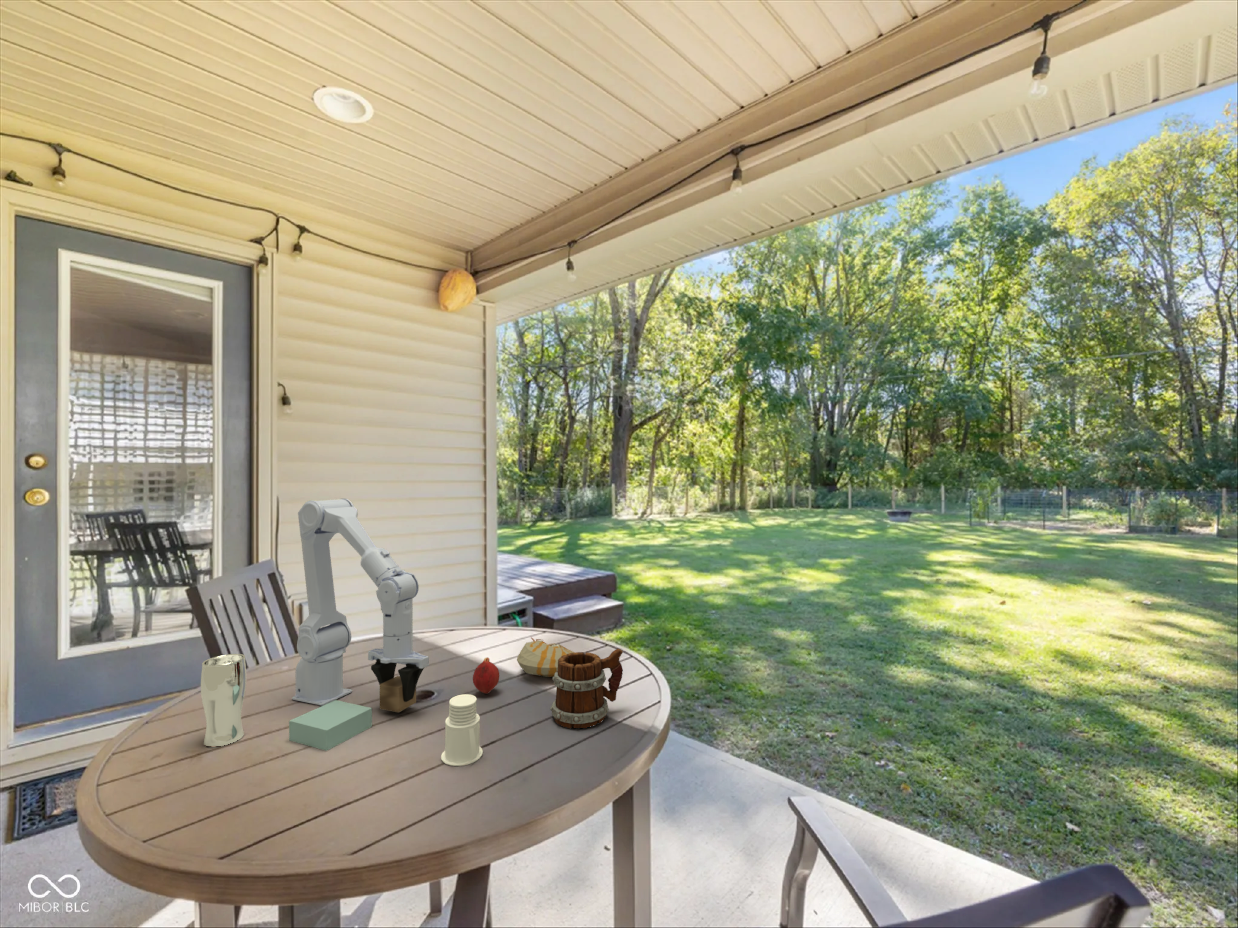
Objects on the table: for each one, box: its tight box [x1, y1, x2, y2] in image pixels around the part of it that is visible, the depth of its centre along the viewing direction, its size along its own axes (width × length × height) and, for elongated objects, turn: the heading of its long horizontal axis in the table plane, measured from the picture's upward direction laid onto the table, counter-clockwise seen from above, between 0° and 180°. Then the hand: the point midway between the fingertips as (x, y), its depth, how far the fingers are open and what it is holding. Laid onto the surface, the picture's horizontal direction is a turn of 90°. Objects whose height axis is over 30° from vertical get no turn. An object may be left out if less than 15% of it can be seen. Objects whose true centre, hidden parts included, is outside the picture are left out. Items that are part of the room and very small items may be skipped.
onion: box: [472, 657, 500, 695], centre depth 122 cm, size 6×6×8 cm
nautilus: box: [516, 636, 575, 678], centre depth 136 cm, size 8×22×15 cm
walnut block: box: [379, 675, 417, 714], centre depth 114 cm, size 5×5×5 cm
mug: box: [549, 648, 624, 729], centre depth 111 cm, size 12×14×15 cm
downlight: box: [440, 693, 483, 767], centre depth 96 cm, size 8×7×10 cm
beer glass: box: [200, 653, 247, 747], centre depth 102 cm, size 7×7×15 cm
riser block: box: [288, 699, 373, 752], centre depth 104 cm, size 10×10×4 cm
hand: (398, 697), depth 114 cm, fingers closed on walnut block, 5 cm apart
